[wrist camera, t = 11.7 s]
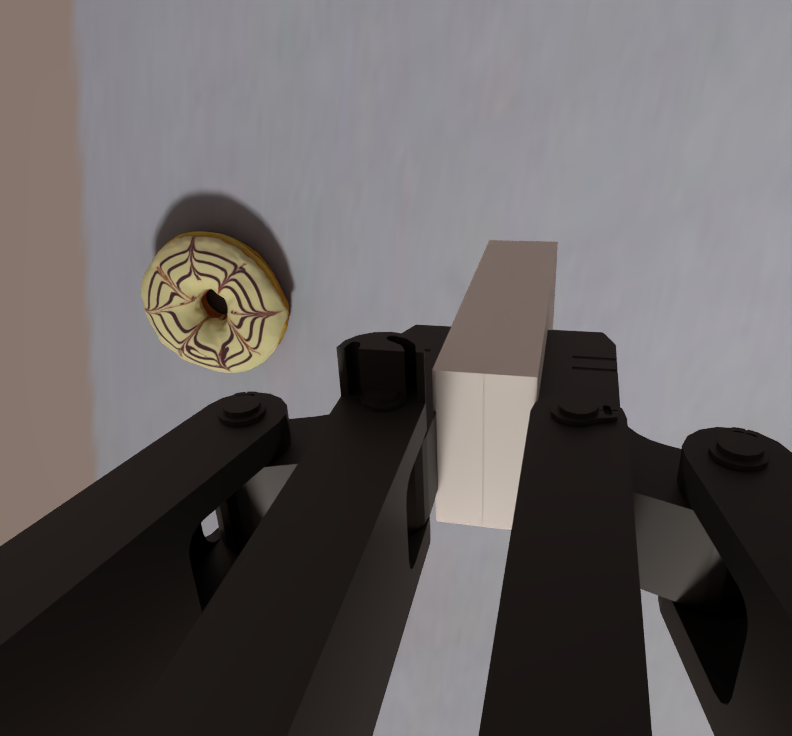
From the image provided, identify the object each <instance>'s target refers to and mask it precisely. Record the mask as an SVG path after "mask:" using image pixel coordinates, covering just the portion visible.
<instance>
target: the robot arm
mask: <svg viewBox="0 0 792 736" xmlns="http://www.w3.org/2000/svg"><path fill="white" fill-rule="evenodd" d="M557 245H558V242H540V241H496V240H489V243H488V245H487V247H486V250H485V252H484V254H483V256H482V259H481V261H480V263H479V265H478V268H477V270H476V272H475V274H474V277H473V279H472V281H471V283H470V286H469V288H468V290H467V292H466V295H465V297H464V299H463V301H462V304H461V306H460V308H459V310H458V313H457V315H456V317H455V320H454V322H453V324H452V326H451V327H448V326H429V325H415V326H413V327H411V328H410V329H408V330H406V331H405V332H403V333H395V332H373V333H368V334H363V335H358V336H355V337H353V338H350V339H348V340H345V341H344V342H343V343H341V344H340V345H339V346H338V347H337V357H338V367H339V378H340V389H341V397H340V399H339V400H338V402H337V404H336V405H335V407H334V408H333V410H332V411H331V413H330V414H329V415H323V416H316V417H306V418H296V419H289V417H288V410H287V405H286V404H285V402H284V401H283V400H282V399H281V398H279V397H277V396H274V395H271V394H267V393H258V392H247V393H245V392H241V393H236V394H234V395H232V396H228V397H225V398H222V399H220V400H218V401H216V402H214V403H212V404H210V405H208V406H207V407H205V408H204V409H202V410H201V411H199V412H198V413H196V414H195V415H193V416H192V417H190V418H189V419H187V420H186V421H184V422H183V423H181V424H180V425H179V426H177V427H176V428H174V429H173V430H171V431H170V432H168V433H167V434H165V435H164V436H162V437H161V438H159V439H158V440H156V441H155V442H153V443H152V444H150V445H149V446H148V447H146V448H145V449H143V450H142V451H140V452H139V453H137V454H136V455H134V456H133V457H131V458H130V459H128V460H127V461H125V462H124V463H122V464H121V465H120V466H118V467H117V468H115V469H114V470H112V471H111V472H109V473H108V474H106V475H105V476H103V477H102V478H100V479H99V480H97V481H96V482H94V483H93V484H92V485H90V486H89V487H87V488H86V489H84V490H83V491H81V492H80V493H78V494H77V495H75V496H74V497H72V498H71V499H69V500H68V501H66V502H65V503H64V504H62V505H61V506H59V507H58V508H56V509H55V510H53V511H52V512H50V513H49V514H47V515H46V516H44V517H43V518H41V519H40V520H38V521H37V522H36V523H34V524H33V525H31V526H30V527H28V528H27V529H25V530H24V531H22V532H21V533H19V534H18V535H17V536H15V537H13V538H12V539H10V540H9V541H8V542H6V543H5V544H3V545H2V546H0V736H372V735H373V732H374V728H375V725H376V722H377V718H378V715H379V712H380V708H381V705H382V702H383V698H384V695H385V692H386V688H387V685H388V682H389V678H390V675H391V672H392V668H393V665H394V662H395V658H396V655H397V652H398V648H399V645H400V641H401V638H402V635H403V631H404V628H405V625H406V621H407V618H408V615H409V611H410V608H411V605H412V601H413V598H414V595H415V591H416V588H417V585H418V581H419V578H420V575H421V571H422V568H423V565H424V561H425V558H426V555H427V551H428V548H429V545H430V513H431V510H432V507H433V503H434V500H435V497H436V521H440V522H448V523H456V524H465V525H473V526H481V527H490V528H498V529H506V530H511V536H510V542H509V548H508V555H507V561H506V567H505V574H504V580H503V586H502V592H501V599H500V605H499V611H498V617H497V624H496V630H495V636H494V643H493V649H492V655H491V661H490V668H489V674H488V680H487V687H486V693H485V699H484V705H483V712H482V718H481V724H480V731H479V736H652V730H651V717H650V705H649V692H648V679H647V667H646V654H645V641H644V629H643V616H642V604H641V591H640V589H643V590H645V591H648V592H651V593H653V594H656V595H658V601H659V607H660V612H661V614H662V617H663V619H664V621H665V623H666V626H667V628H668V630H669V633H670V635H671V637H672V639H673V642H674V644H675V646H676V649H677V651H678V653H679V655H680V658H681V660H682V662H683V665H684V667H685V669H686V672H687V674H688V676H689V678H690V681H691V683H692V685H693V688H694V690H695V692H696V694H697V697H698V699H699V701H700V704H701V706H702V708H703V710H704V713H705V715H706V717H707V720H708V722H709V724H710V726H711V729H712V731H713V733H714V736H792V452H790V451H789V450H788V449H787V448H785V447H784V446H783V445H781V444H780V443H779V442H777V441H775V440H773V439H771V438H768V437H766V436H764V435H762V434H760V433H758V432H754V431H751V430H745V429H742V428H736V427H732V428H724V427H715V428H708V429H701V430H698V431H696V432H694V433H692V434H690V435H689V436H687V438H686V440H685V441H684V443H683V445H682V449H679V448H675V447H671V446H667V445H664V444H661V443H658V442H655V441H652V440H649V439H647V438H645V437H643V436H641V435H639V434H637V433H636V432H635V431H633V430H632V429H631V428H629V427H628V426H627V418H626V415H625V413H624V411H623V409H622V408H620V399H619V385H618V372H617V361H616V360H617V357H616V345H615V344H614V343H613V342H612V341H611V340H610V339H609V338H608V337H607V336H606V335H605V334H604V333H601V332H582V331H563V330H553V316H554V299H555V281H556V263H557ZM214 510H216V515H217V520H218V525H219V528H218V529H216V530H215V531H214V532H213V533H212V534H211V535H209V536H207V537H205V536H204V534H203V531H202V526H201V522H202V521H203V520H204V519H205V518H206V517H207V516H208V515H209V514H211V513H212V512H213V511H214Z"/></svg>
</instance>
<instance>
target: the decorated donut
mask: <svg viewBox="0 0 792 736" xmlns="http://www.w3.org/2000/svg"><path fill="white" fill-rule="evenodd" d="M210 289H212V290H214V291H215V292H216V293H217V294H218V295H220V296H221V297H223V298H224V299H225V301H226V303H227V307H228V313H227V314H220V313H218V312H217V311H215V310H214V309H213V308H211V307H210V305H209V304H208V302H207V299H206V293H207V292H208V290H210ZM141 295H142V299H143V302H144V310H145V312H146V314H147V317H148V319H149V321H150V323H151V324H152V326H153V327H154V329H155V331H156V333H157V335H158V337H159V339H160V341H161V342H162V343H163V344H164V345H165V346H167V347H168V348H169V349H171V350H173V351H175V352H176V353H177V354H178V355H179V356H180V357H181V358H182V359H184V360H186V361H189V362H191V363H195V364H198V365H200V366H202V367H205V368H208V369H211V370H215V371H220V372H242V371H248V370H250V369H252V368H254V367H256V366H258V365H260V364H261V363H263V362H264V361H265V360H266V359H267V358H268V357H269V356H270V355H271V354H272V353H273V352H274V351H275V349H276V348H277V346H278V345H279V344H280V342H281V340H282V338H283V336H284V334H285V331H286V329H287V326H288V320H289V304H288V301H287V299H286V297H285V295H284V293H283V291H282V289H281V287H280V285H279V282H278V281H277V279H276V277H275V275H274V273H273V272H272V271H271V269H270V268H269V266H268V265H267V263H266V262H265V261H264V260H263V258H262V257H261V256H260V255H259V254H258V253H257V252H256V251H255V250H253V249H252V248H250V247H249V246H248V244H245V243H242V242H241V241H240V240H237V239H235V238H232V237H230V236H228V235H225V234H219V233H214V232H203V231H195V232H188V233H184V234H180V235H178V236H176V237H174V238H173V239H172V240H170V241H169V242H167V243H166V244H165V245H164V246H163V247H162V248H161V249H160V250H159V251H158V253H157V254H156V256H155V257H154V259H153V260H152V263H151V264H150V266H149V268H148V269H147V271H146V272H145V274H144V277H143V282H142V286H141Z"/></svg>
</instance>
